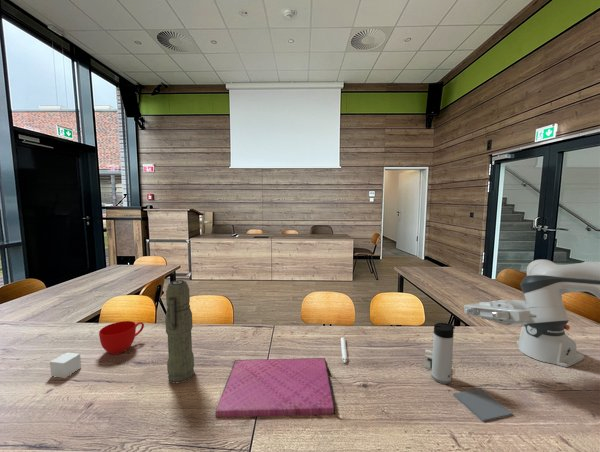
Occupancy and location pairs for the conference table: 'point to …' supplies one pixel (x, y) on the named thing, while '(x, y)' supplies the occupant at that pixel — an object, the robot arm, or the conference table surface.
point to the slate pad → (482, 404)
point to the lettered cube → (428, 359)
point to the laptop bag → (277, 388)
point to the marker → (343, 350)
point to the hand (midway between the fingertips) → (480, 313)
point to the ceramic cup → (118, 336)
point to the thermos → (179, 332)
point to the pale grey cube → (65, 365)
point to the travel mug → (442, 352)
